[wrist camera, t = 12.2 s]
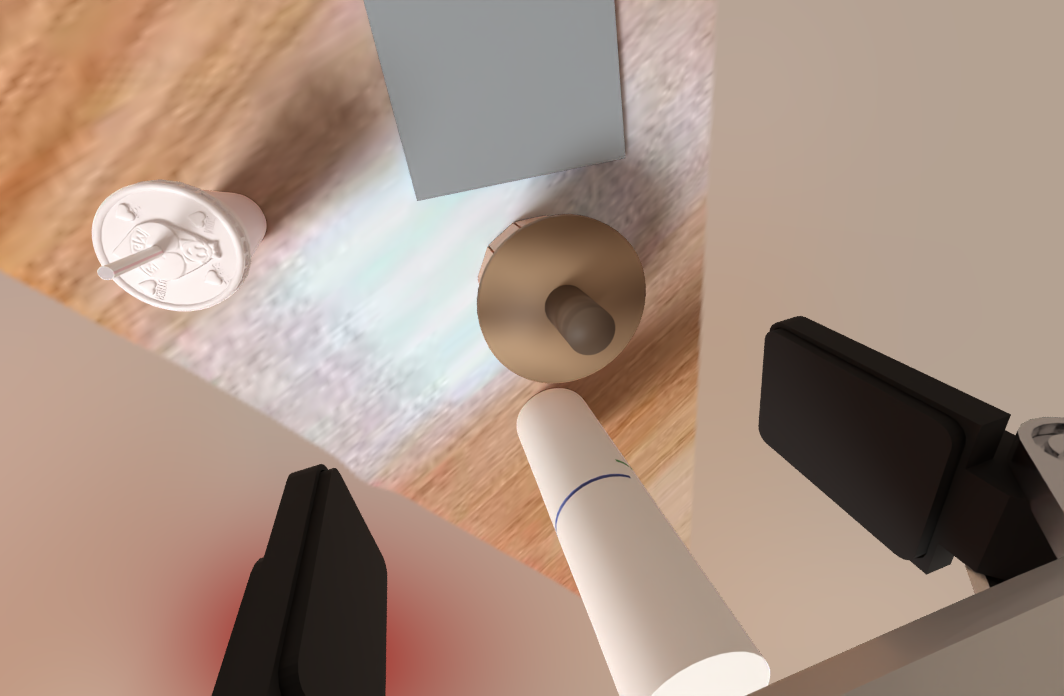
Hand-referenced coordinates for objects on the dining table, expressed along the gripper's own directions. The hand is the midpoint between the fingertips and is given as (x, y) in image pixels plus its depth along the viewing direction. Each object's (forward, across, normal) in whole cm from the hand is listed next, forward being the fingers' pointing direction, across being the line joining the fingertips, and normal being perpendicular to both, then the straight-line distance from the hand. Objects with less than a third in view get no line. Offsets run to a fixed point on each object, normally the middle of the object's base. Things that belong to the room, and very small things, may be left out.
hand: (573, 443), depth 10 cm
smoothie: (+28, +14, -3) cm, 32 cm away
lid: (+22, -6, +6) cm, 23 cm away
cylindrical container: (+27, -5, +21) cm, 35 cm away
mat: (+28, -6, -9) cm, 31 cm away
